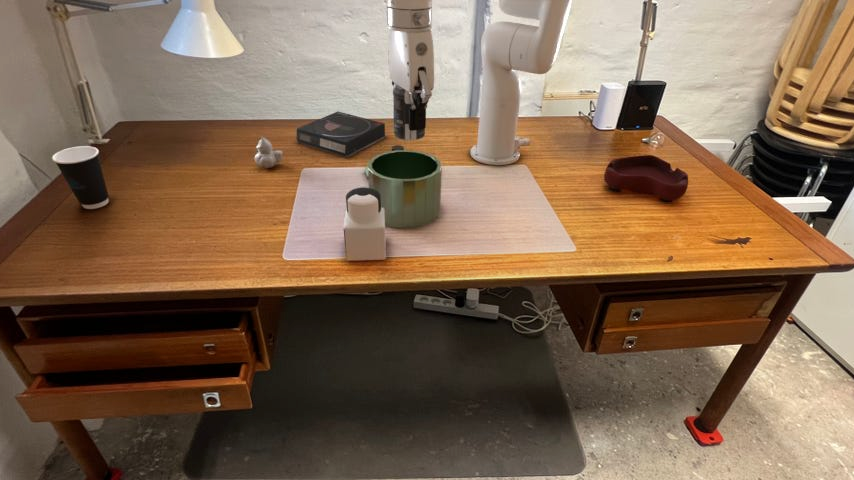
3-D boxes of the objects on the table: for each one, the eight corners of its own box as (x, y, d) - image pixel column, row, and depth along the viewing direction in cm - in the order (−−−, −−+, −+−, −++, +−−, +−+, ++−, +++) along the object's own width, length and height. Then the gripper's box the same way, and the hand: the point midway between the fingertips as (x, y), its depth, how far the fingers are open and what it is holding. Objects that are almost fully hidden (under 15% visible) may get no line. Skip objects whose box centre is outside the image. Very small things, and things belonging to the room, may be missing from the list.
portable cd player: (297, 143, 135) (295, 129, 132) (339, 125, 147) (337, 111, 144) (345, 158, 128) (344, 143, 126) (385, 137, 140) (384, 123, 138)
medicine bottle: (348, 240, 97) (343, 183, 90) (385, 239, 98) (383, 182, 91) (346, 261, 92) (340, 202, 84) (385, 260, 92) (383, 202, 85)
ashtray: (685, 180, 123) (691, 161, 120) (681, 210, 111) (688, 189, 108) (609, 165, 129) (614, 147, 126) (598, 192, 116) (603, 172, 114)
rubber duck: (257, 162, 125) (251, 130, 120) (285, 161, 126) (280, 130, 121) (255, 171, 120) (248, 139, 116) (283, 170, 121) (278, 138, 117)
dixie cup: (117, 191, 111) (99, 143, 104) (116, 208, 105) (97, 158, 98) (75, 198, 108) (53, 149, 101) (72, 215, 102) (49, 164, 95)
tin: (421, 189, 115) (422, 145, 109) (451, 219, 105) (454, 172, 99) (360, 202, 110) (357, 156, 104) (386, 234, 99) (384, 186, 93)
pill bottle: (421, 143, 94) (422, 80, 88) (390, 139, 95) (388, 77, 88) (427, 131, 99) (428, 71, 92) (398, 128, 100) (397, 68, 93)
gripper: (453, 26, 80) (448, 136, 91) (408, 8, 93) (408, 107, 103) (410, 30, 78) (410, 142, 88) (369, 10, 90) (373, 111, 100)
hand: (409, 122), depth 96 cm, fingers closed on pill bottle, 6 cm apart
